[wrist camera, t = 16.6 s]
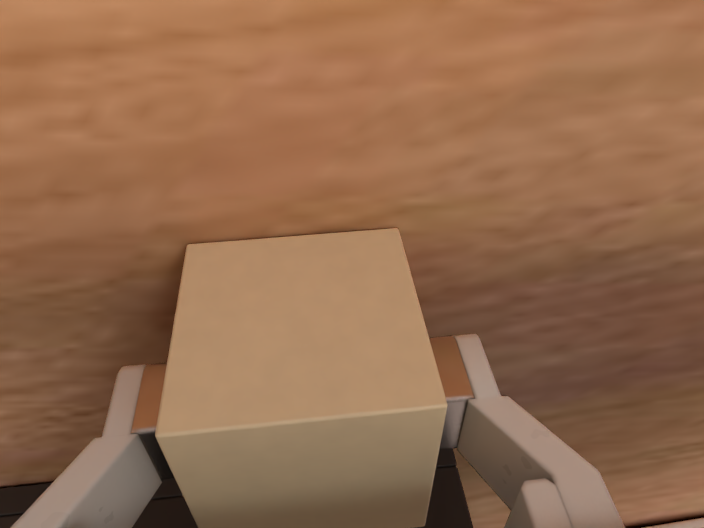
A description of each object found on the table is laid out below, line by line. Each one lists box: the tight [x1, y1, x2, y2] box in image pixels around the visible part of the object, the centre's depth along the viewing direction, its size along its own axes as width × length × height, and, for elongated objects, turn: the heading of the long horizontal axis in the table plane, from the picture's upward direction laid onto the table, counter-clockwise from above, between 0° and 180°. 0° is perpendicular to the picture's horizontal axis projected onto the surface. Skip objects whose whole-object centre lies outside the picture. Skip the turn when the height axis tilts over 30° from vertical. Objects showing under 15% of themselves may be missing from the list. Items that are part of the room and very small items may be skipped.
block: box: [155, 228, 448, 528], centre depth 12 cm, size 4×4×4 cm
